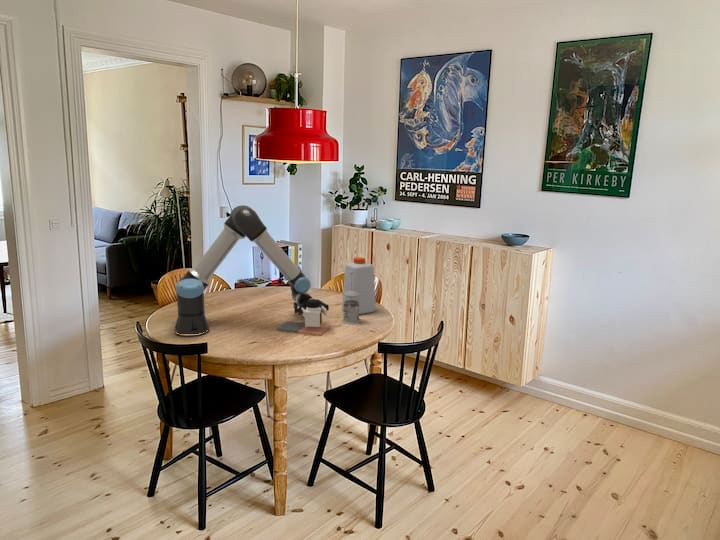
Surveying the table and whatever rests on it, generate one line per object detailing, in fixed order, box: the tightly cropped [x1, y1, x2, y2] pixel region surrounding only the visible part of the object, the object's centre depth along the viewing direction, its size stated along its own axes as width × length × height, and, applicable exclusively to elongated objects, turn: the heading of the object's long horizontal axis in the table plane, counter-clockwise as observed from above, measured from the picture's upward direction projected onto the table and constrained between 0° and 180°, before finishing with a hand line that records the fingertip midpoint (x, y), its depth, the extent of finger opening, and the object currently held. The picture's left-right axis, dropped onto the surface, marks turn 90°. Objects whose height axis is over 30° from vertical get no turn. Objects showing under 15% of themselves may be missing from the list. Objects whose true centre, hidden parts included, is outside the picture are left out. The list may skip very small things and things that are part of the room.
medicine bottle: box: [304, 298, 323, 327], centre depth 251 cm, size 7×7×12 cm
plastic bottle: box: [341, 256, 377, 315], centre depth 283 cm, size 15×15×28 cm
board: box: [275, 320, 331, 337], centre depth 255 cm, size 12×22×1 cm, turn 71°
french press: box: [341, 271, 362, 325], centre depth 266 cm, size 10×12×25 cm
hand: (315, 313), depth 247 cm, fingers closed on medicine bottle, 9 cm apart
